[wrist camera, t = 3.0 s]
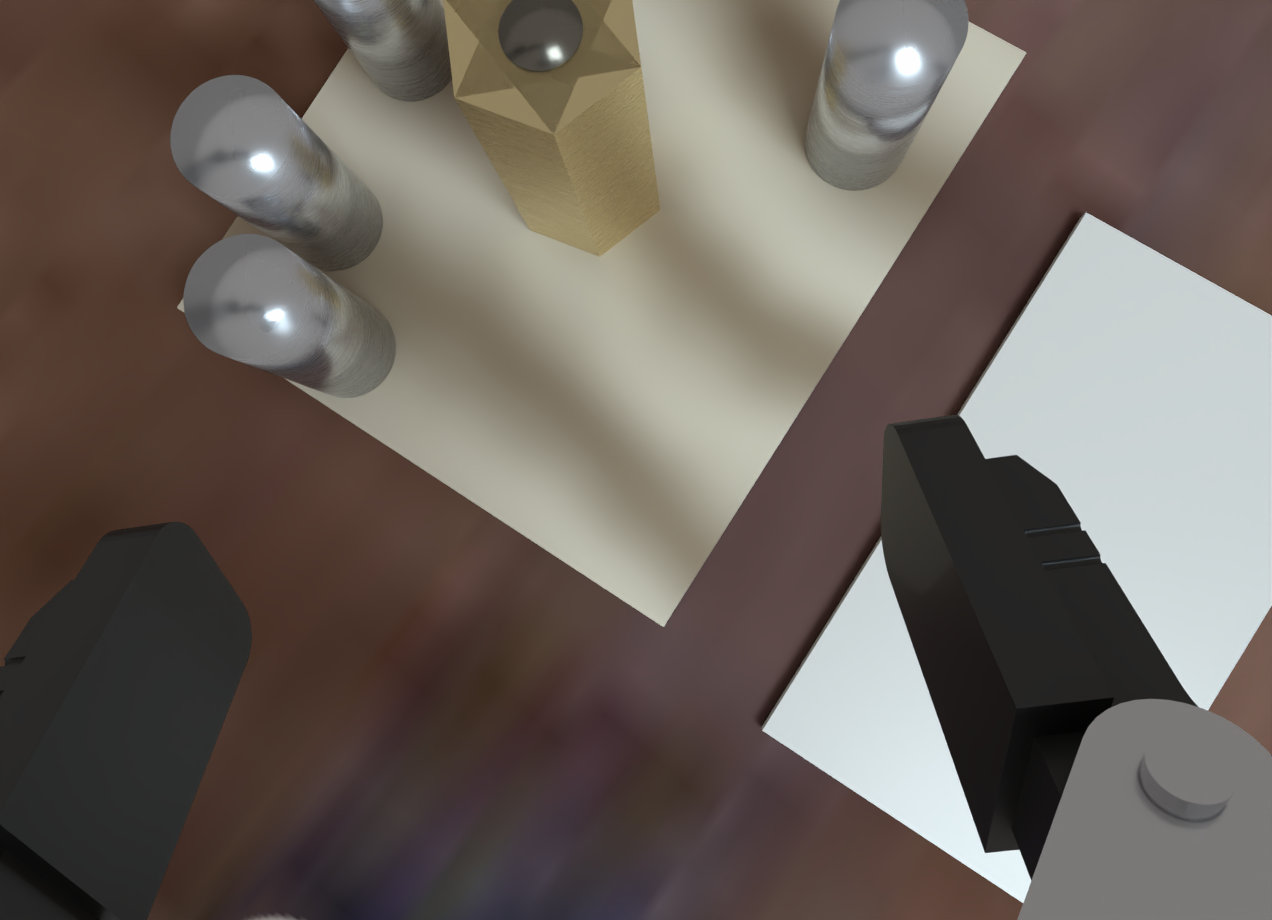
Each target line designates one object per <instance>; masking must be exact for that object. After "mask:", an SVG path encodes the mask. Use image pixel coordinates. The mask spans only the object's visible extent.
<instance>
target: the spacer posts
mask: <svg viewBox="0 0 1272 920" xmlns="http://www.w3.org/2000/svg"><path fill="white" fill-rule="evenodd" d="M314 2H315V3H316V4H317V6H318V7H319V9H320V10H321V11H322V13H323V14H324V15H325V17H326V18H327V19H328V21H329V22H330V24H331V25H332V26H333V28H334V29H335V30H336V32H337V33H338V34H339V36H340V37H341V39H342V40H343V41H344V43H345V44H346V45H347V47H348V48H349V50H350V51H351V52H352V54H353V55H354V56H355V58H356V59H357V60H358V62H359V63H360V65H361V66H362V67H363V69H364V70H365V71H366V73H367V74H368V76H369V77H370V78H371V80H372V81H373V82H374V84H375V85H376V86H377V87H378V88H379V89H380V90H381V91H382V92H383V93H384V94H386V95H387V96H389V97H391V98H393V99H396V100H400V101H406V102H415V101H421V100H425V99H428V98H430V97H432V96H434V95H436V94H438V93H439V92H440V91H442V90H443V89H444V88H445V87H446V86H447V85H448V84H449V83H450V81H451V80H452V73H451V64H450V55H449V47H448V38H447V29H446V20H445V12H444V9H443V6H442V4H441V2H440V0H314ZM968 24H969V21H968V11H967V6H966V4H965V1H964V0H840V1H839V4H838V6H837V10H836V14H835V18H834V21H833V25H832V29H831V33H830V37H829V41H828V45H827V49H826V53H825V57H824V61H823V65H822V69H821V73H820V77H819V81H818V85H817V88H816V92H815V96H814V100H813V104H812V108H811V112H810V116H809V120H808V124H807V128H806V132H805V138H804V149H805V154H806V157H807V160H808V162H809V164H810V166H811V168H812V169H813V171H814V172H815V173H816V174H817V175H818V176H819V177H820V178H821V179H822V180H823V181H825V182H826V183H828V184H830V185H832V186H834V187H836V188H839V189H843V190H850V191H860V190H866V189H870V188H873V187H876V186H878V185H880V184H882V183H883V182H885V181H886V180H887V179H889V178H890V177H891V176H892V175H893V174H894V173H895V172H896V170H897V169H898V168H899V166H900V164H901V163H902V161H903V159H904V157H905V155H906V153H907V151H908V149H909V148H910V146H911V144H912V142H913V140H914V138H915V136H916V134H917V133H918V131H919V129H920V127H921V125H922V123H923V121H924V119H925V118H926V116H927V114H928V112H929V110H930V108H931V106H932V104H933V103H934V101H935V99H936V97H937V95H938V93H939V91H940V89H941V88H942V86H943V84H944V82H945V80H946V78H947V76H948V74H949V73H950V71H951V69H952V67H953V65H954V63H955V61H956V59H957V58H958V56H959V54H960V52H961V50H962V48H963V46H964V43H965V41H966V37H967V33H968ZM170 143H171V151H172V155H173V158H174V161H175V164H176V166H177V167H178V169H179V171H180V172H181V174H182V175H183V176H184V177H185V178H186V179H187V180H188V181H189V182H190V183H191V184H193V185H194V186H195V187H197V188H198V189H200V190H201V191H203V192H204V193H206V194H207V195H209V196H210V197H211V198H213V199H214V200H216V201H217V202H219V203H220V204H222V205H223V206H225V207H226V208H228V209H229V210H230V211H232V212H233V213H235V214H236V215H238V216H239V217H241V218H242V219H244V220H245V221H247V222H248V223H250V224H251V225H252V226H254V227H255V228H257V229H258V230H260V231H261V232H263V233H264V234H266V235H267V236H269V237H270V238H268V237H266V236H262V235H257V234H240V235H234V236H231V237H228V238H225V239H223V240H221V241H218V242H217V243H215V244H214V245H212V246H211V247H209V248H208V249H207V250H206V251H205V252H204V253H203V254H202V255H201V256H200V257H199V258H198V259H197V261H196V262H195V263H194V265H193V267H192V269H191V270H190V273H189V275H188V277H187V280H186V284H185V289H184V299H183V303H184V311H185V316H186V319H187V322H188V324H189V326H190V328H191V330H192V332H193V333H194V335H195V336H196V337H197V339H198V340H199V341H200V342H201V343H202V344H203V345H205V346H206V347H207V348H209V349H210V350H212V351H214V352H215V353H218V354H220V355H223V356H226V357H228V358H231V359H234V360H236V361H239V362H242V363H244V364H247V365H250V366H253V367H255V368H258V369H261V370H263V371H266V372H269V373H271V374H274V375H277V376H280V377H282V378H285V379H288V380H290V381H293V382H296V383H298V384H301V385H304V386H307V387H309V388H312V389H315V390H317V391H320V392H323V393H325V394H328V395H331V396H334V397H338V398H354V397H359V396H362V395H365V394H367V393H369V392H371V391H372V390H374V389H375V388H377V387H378V386H379V385H380V384H381V383H382V382H383V381H384V380H385V379H386V377H387V376H388V374H389V372H390V371H391V369H392V366H393V364H394V360H395V356H396V340H395V335H394V332H393V329H392V327H391V325H390V323H389V322H388V320H387V319H386V318H385V316H384V315H383V314H382V313H381V312H379V311H378V310H377V309H375V308H374V307H372V306H371V305H369V304H368V303H366V302H365V301H364V300H362V299H361V298H359V297H358V296H356V295H355V294H353V293H352V292H350V291H349V290H347V289H346V288H345V287H343V286H342V285H340V284H339V283H337V282H336V281H334V280H333V279H331V278H330V277H329V276H327V275H326V274H324V273H323V272H321V271H320V270H318V269H321V270H326V271H341V270H346V269H349V268H351V267H354V266H356V265H358V264H359V263H361V262H362V261H363V260H365V259H366V258H367V257H368V256H369V255H370V254H371V253H372V251H373V250H374V249H375V247H376V245H377V244H378V241H379V239H380V236H381V233H382V227H383V215H382V210H381V206H380V204H379V202H378V200H377V198H376V196H375V195H374V194H373V192H372V191H371V190H370V189H369V188H368V187H367V186H366V185H365V184H364V183H363V182H362V181H361V180H360V179H359V178H358V177H357V176H356V175H355V174H354V173H353V172H352V170H351V169H350V168H349V167H348V166H347V165H346V164H345V163H344V162H343V161H342V160H341V159H340V158H339V157H338V156H337V155H336V154H335V153H334V152H333V151H332V150H331V149H330V148H329V147H328V146H327V145H326V144H325V143H324V142H323V141H322V140H321V138H320V137H319V136H318V135H317V134H316V133H315V132H314V131H313V130H312V129H311V128H310V127H309V126H308V125H307V124H306V123H305V122H304V121H303V120H302V119H301V118H300V117H299V116H298V115H297V114H296V113H295V112H294V111H293V110H292V109H291V108H290V107H289V105H288V104H287V103H286V102H285V101H284V100H283V99H282V98H281V97H280V96H279V95H278V94H277V93H276V92H275V91H274V90H273V89H272V88H271V87H269V86H268V85H266V84H265V83H263V82H262V81H260V80H258V79H255V78H252V77H248V76H243V75H227V76H221V77H218V78H215V79H212V80H210V81H207V82H205V83H204V84H202V85H200V86H199V87H197V88H196V89H195V90H194V91H193V92H191V93H190V94H189V96H188V97H187V98H186V99H185V100H184V101H183V103H182V104H181V106H180V107H179V109H178V111H177V113H176V115H175V118H174V121H173V124H172V129H171V138H170ZM317 268H318V269H317Z"/></svg>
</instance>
